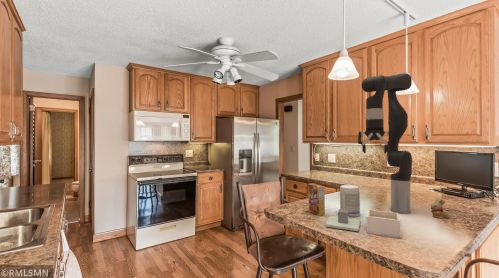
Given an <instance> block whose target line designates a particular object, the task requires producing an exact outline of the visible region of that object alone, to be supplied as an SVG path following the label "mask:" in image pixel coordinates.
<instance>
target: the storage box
mask: <svg viewBox="0 0 499 278" xmlns="http://www.w3.org/2000/svg"><path fill="white" fill-rule="evenodd" d="M366 234H369V235H375V236H376V235H377V236H381V237H388V238H394V239H401V234H402V233H401V219H400V213H397V212H393V211H385V210H374V209H367V213H366Z"/></svg>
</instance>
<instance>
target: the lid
mask: <svg viewBox="0 0 499 278" xmlns="http://www.w3.org/2000/svg"><path fill="white" fill-rule="evenodd" d="M360 225H361V219H355V218H351V217H350V218H349V216H348V210H340V208H339V209H338V211H337V216H334V215H330V216H329V217H328V219H327V221H326V222H325V225H324V226H325V227H326V228H334V229H340V230H345V231H346V230H347V231H353V232H359V231H360Z"/></svg>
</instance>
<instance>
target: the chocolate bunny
mask: <svg viewBox="0 0 499 278" xmlns="http://www.w3.org/2000/svg"><path fill="white" fill-rule="evenodd" d="M445 203H446V201H445V200H444V199H442V197H439V198H438V199H437V200H435V201H434V202H432V203H431V205H430V209H431V210H430V212H431V214H432V217H433V218H435V219H440V220H442V219H443V220H444V219H445V220H446V219H447V220H448V219H450V218H451V216H450V214H449V211H447V210H445V209H443V205H444V204H445Z"/></svg>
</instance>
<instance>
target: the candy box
mask: <svg viewBox="0 0 499 278" xmlns="http://www.w3.org/2000/svg"><path fill="white" fill-rule="evenodd" d="M307 185H308V186H307V187H308V213H309V212H310V213H312V214H314V215H317V216H318V217H320V216H325V215H326V213H325V212H326V209H325V208H326V207H325V205H326V204H325V203H326V202H325V200H326V198H325V195H326V194H325V193H326V191H325V189H326V188H325V185H321V184H317V183H308V184H307Z"/></svg>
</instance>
